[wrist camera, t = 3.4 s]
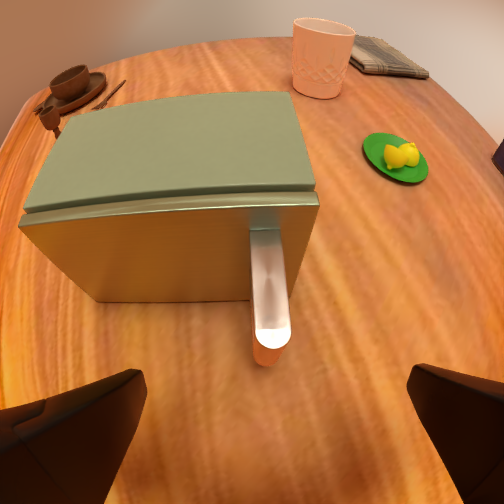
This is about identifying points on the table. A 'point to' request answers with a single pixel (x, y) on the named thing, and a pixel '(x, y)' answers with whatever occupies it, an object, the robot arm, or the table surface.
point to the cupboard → (176, 151)
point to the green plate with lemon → (396, 157)
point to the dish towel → (382, 59)
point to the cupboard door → (187, 252)
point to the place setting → (71, 94)
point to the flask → (499, 157)
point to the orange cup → (320, 56)
